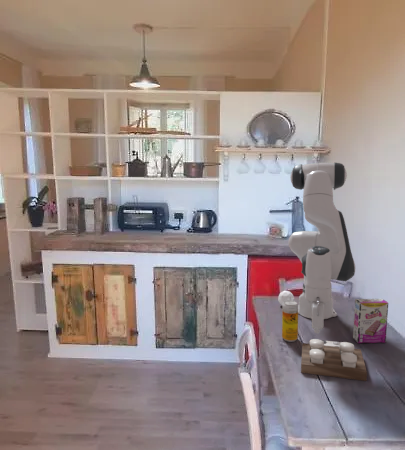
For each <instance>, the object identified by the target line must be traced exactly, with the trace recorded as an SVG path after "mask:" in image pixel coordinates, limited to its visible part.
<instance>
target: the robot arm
mask: <svg viewBox="0 0 405 450" xmlns="http://www.w3.org/2000/svg"><path fill="white" fill-rule="evenodd" d="M347 176H348V174H347V170H346V168H345V165H344V164H343V163H341V162H316V163H307V164H296V165H295V166H293V168H292V170H291V173H290V182H291V185H292V187H294V189H295V190H300V191H301V190H303V191H302V192H303V194H302V196H303V197H302V204H303V212H304V218H305V220H306V222H308V224H311V225H312V226H314V227H316V229H317V230H318V231H315V230H311V231H310V230H301V231H295V232H292V233H291V235H290V236H289V237H288V247H289V249H290V251H291V252H292V253H293V254H295V255H296V257H297V258H298V259H299V261H300V262H301V274H302V275H303V284H302V293H300V295H299V296H298V315H300V316H302V317H304V318H306V319H311V328H312V329H313V330H314V334H320V332H321V330H323V329H324V326H325V325H324V320H327V319H330V318H333V317H334V318H335V317H337V316H338V314H337V312H336V310H335V309H334V298H333V297H332V281H333V280H335V281H340V282H347V281H349V280H351V279H352V278H353V277H354V276H355V273H356V263H355V260H354V258H353V254H352V250H351V244H350V239H349V234H348V230H347V226H346V225H347V224H346V222H345V217H344V215H343V213H342V211H341V210H338V209H337V208H336V206H335V202H334V194H333V190H334V191H335V190H337V189H339V188H342V187H343V186H345V183H346V180H347V178H348V177H347ZM331 280H332V281H331Z"/></svg>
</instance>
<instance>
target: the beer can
mask: <svg viewBox="0 0 405 450" xmlns="http://www.w3.org/2000/svg"><path fill="white" fill-rule="evenodd" d="M298 305H299V303H298V302H297V301H295V300H294V301H284V303H283V305H281V306H282V311H281V312H282V313H281V314H282V315H281V316H282V317H281V319H282V320H281V321H282V323H281V324H282V325H281V338H282V339H283V340H284V341H286V342H290V343H291V342H292V343H294V342H296V341H297V340H298V338H299V314H298Z"/></svg>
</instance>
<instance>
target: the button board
mask: <svg viewBox="0 0 405 450" xmlns="http://www.w3.org/2000/svg"><path fill="white" fill-rule="evenodd" d="M301 345H302V346H301V361H300V363H301V364H300V373H303V374H309V375H317V376H318V375H319V376H324V377H331V378H340V379H341V378H342V379H348V380H354V381H355V380H356V381H363V382H367V381H368V380H367V378H368V377H367V376H368V371H367V367H366V363H365V360H364V356H363V352H362V349H360V348H354V352H353V354H355V355H356V356H357V363H356V368H351V367H343V366H342V361H341V354H340V349H339V347H335V346H325V345H324V348H323V349H322V351H324V353H325V358H324V359H323V364H318V363H311V358H310V350H311V347H310V343H307V342H306V343H304V342H302V343H301Z"/></svg>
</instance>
